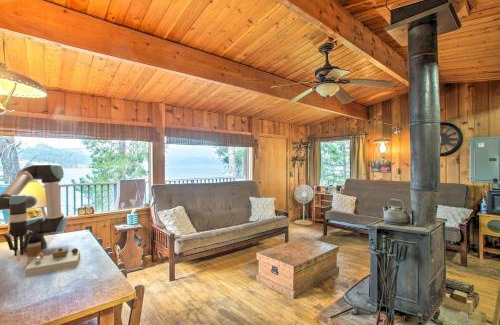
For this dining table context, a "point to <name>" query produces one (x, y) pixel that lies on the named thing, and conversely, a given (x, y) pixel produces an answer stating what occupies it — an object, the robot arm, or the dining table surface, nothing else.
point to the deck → (53, 263)
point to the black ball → (74, 250)
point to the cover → (60, 252)
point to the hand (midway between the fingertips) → (19, 260)
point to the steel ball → (38, 259)
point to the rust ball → (40, 255)
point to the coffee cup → (33, 248)
